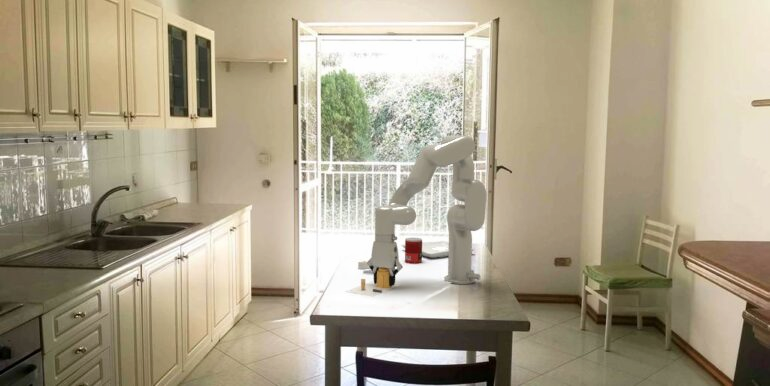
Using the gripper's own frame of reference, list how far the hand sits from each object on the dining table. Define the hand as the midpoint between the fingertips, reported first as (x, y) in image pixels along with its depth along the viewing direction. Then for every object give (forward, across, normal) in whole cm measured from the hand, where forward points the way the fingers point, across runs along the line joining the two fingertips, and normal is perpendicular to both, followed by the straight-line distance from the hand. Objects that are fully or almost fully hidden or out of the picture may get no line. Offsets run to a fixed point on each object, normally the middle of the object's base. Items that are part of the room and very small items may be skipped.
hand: (384, 283), depth 238 cm
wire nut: (+1, 0, 0) cm, 1 cm away
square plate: (+3, +14, -77) cm, 78 cm away
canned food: (+3, +14, -51) cm, 53 cm away
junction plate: (+2, +2, +5) cm, 6 cm away
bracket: (+3, +23, -30) cm, 38 cm away
